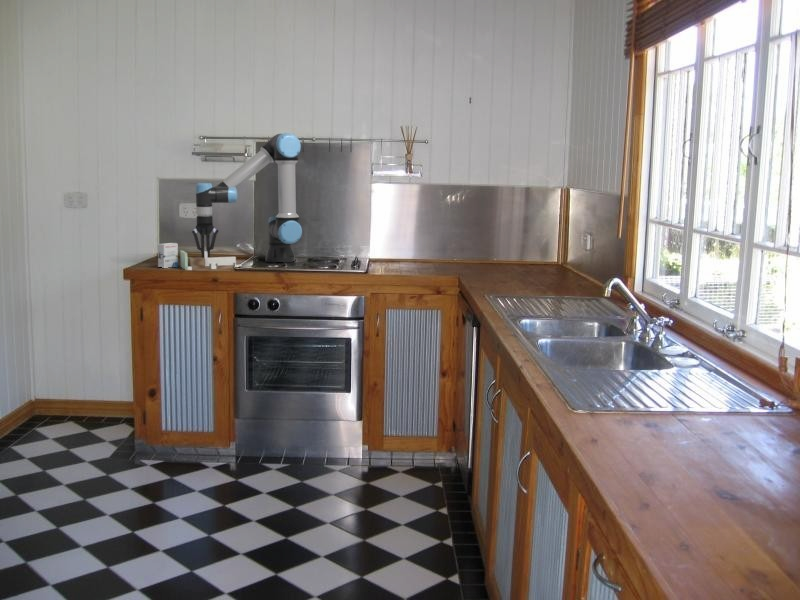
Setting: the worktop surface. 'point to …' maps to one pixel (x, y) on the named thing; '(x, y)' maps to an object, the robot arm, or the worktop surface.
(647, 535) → the worktop surface
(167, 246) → the ink box
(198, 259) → the block
